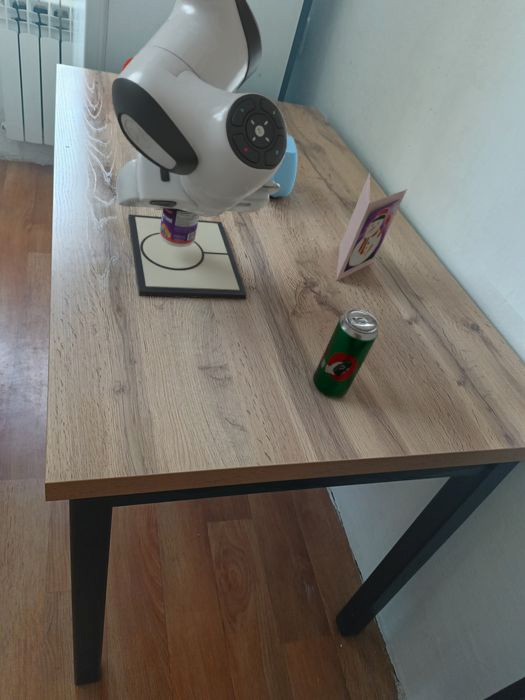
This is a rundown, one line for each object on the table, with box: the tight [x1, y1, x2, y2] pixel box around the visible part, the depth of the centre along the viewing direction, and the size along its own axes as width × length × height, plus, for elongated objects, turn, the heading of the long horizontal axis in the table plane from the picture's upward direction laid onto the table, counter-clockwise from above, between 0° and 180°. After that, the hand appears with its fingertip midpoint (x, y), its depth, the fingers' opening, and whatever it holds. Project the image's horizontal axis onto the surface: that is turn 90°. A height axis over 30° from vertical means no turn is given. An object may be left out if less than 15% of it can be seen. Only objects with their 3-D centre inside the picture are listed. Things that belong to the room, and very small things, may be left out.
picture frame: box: [127, 213, 248, 300], centre depth 86 cm, size 16×20×1 cm
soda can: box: [312, 308, 379, 398], centre depth 69 cm, size 5×5×12 cm
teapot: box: [269, 134, 298, 198], centre depth 107 cm, size 12×18×12 cm
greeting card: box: [336, 172, 408, 281], centre depth 91 cm, size 11×7×15 cm, turn 136°
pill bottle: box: [160, 208, 200, 247], centre depth 79 cm, size 5×5×10 cm
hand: (181, 205), depth 79 cm, fingers closed on pill bottle, 5 cm apart
